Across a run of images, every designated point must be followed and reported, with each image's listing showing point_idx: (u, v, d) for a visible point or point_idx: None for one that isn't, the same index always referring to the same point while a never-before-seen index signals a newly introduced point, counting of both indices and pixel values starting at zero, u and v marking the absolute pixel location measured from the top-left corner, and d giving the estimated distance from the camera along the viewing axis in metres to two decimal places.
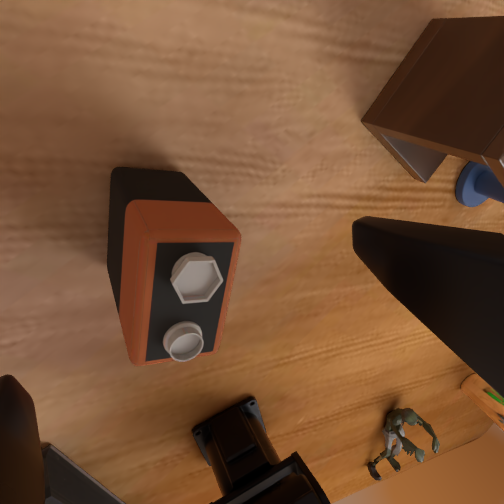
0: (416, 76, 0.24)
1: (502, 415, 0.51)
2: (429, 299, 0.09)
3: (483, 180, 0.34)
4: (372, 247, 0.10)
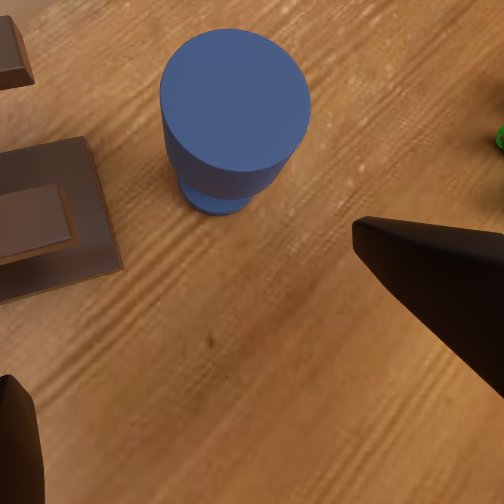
0: None
1: None
2: (429, 299, 0.09)
3: None
4: (372, 247, 0.10)
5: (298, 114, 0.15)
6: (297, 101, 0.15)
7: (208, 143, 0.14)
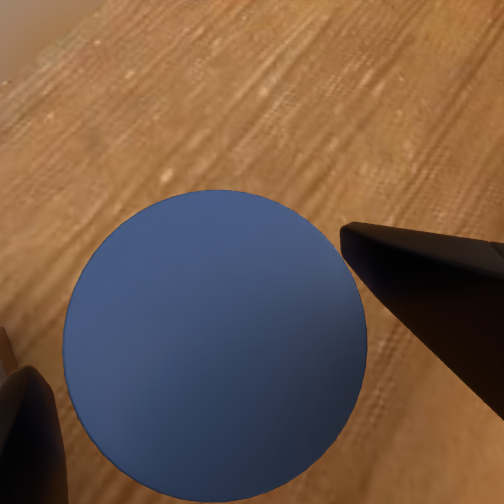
0: None
1: None
2: (416, 306, 0.09)
3: None
4: (359, 253, 0.10)
5: (345, 336, 0.08)
6: (338, 309, 0.08)
7: (176, 449, 0.07)
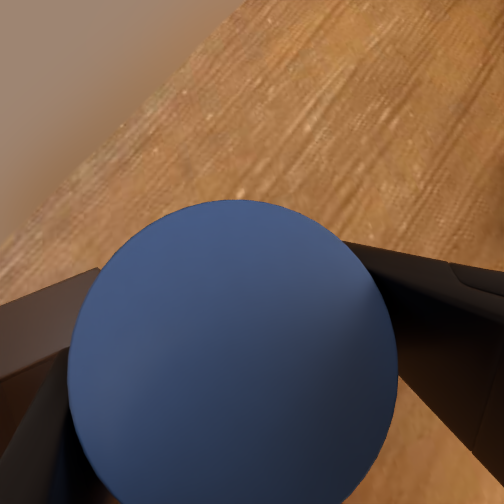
0: None
1: None
2: None
3: None
4: None
5: (374, 360, 0.07)
6: (367, 330, 0.07)
7: (194, 489, 0.06)
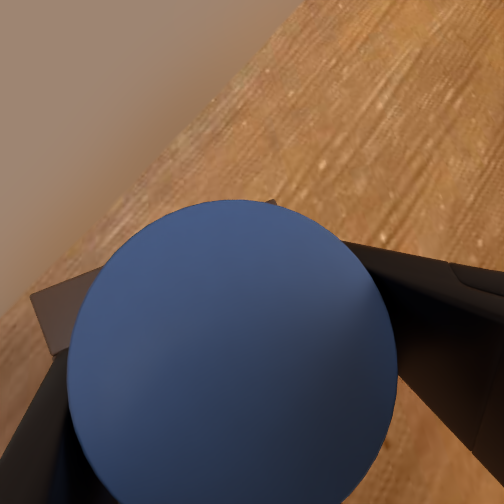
0: None
1: None
2: None
3: None
4: None
5: (374, 360, 0.07)
6: (366, 330, 0.07)
7: (193, 489, 0.06)
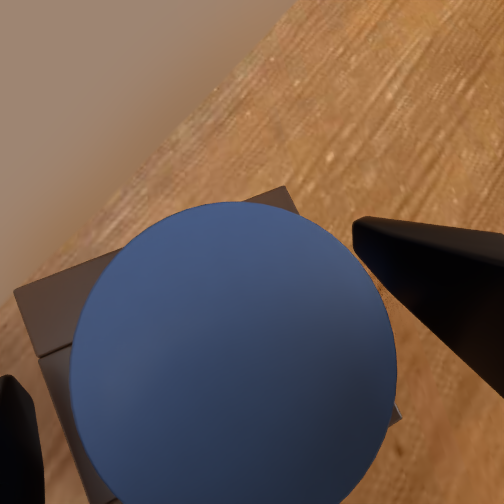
0: None
1: None
2: (429, 299, 0.09)
3: None
4: (372, 247, 0.10)
5: (373, 361, 0.07)
6: (366, 332, 0.07)
7: (194, 488, 0.06)
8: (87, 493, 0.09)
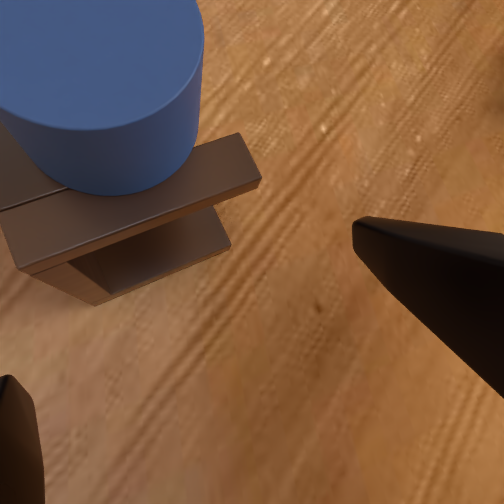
0: None
1: None
2: (429, 299, 0.09)
3: None
4: (372, 247, 0.10)
5: (184, 39, 0.10)
6: (180, 21, 0.10)
7: (33, 90, 0.09)
8: None
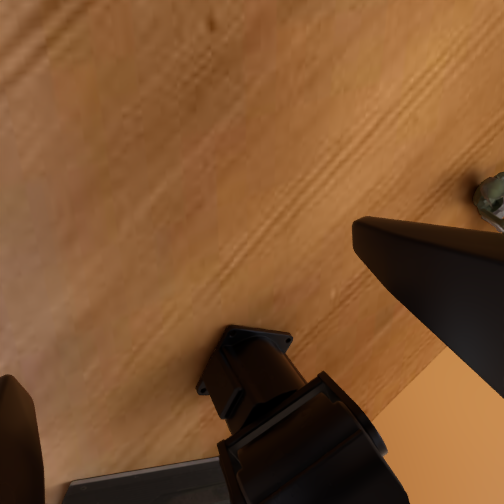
0: None
1: None
2: (429, 299, 0.09)
3: None
4: (372, 247, 0.10)
5: None
6: None
7: None
8: None
